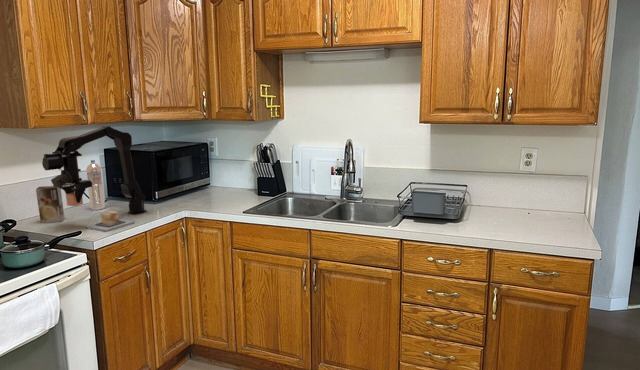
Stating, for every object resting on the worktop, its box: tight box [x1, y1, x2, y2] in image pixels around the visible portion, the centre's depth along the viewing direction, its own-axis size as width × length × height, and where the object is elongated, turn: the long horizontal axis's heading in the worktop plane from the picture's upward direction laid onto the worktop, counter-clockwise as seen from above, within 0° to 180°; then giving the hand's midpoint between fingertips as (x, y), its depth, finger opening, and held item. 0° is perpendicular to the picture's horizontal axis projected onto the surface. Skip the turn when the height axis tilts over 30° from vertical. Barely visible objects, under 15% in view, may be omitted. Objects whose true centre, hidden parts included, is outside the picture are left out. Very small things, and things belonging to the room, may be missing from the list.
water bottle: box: [85, 159, 106, 211], centre depth 241 cm, size 7×7×25 cm
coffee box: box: [35, 185, 66, 224], centre depth 219 cm, size 9×6×16 cm
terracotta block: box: [65, 192, 84, 207], centre depth 209 cm, size 4×4×5 cm
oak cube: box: [100, 210, 120, 226], centre depth 211 cm, size 5×5×5 cm
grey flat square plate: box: [85, 218, 136, 233], centre depth 211 cm, size 15×13×1 cm
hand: (74, 202), depth 209 cm, fingers closed on terracotta block, 4 cm apart
